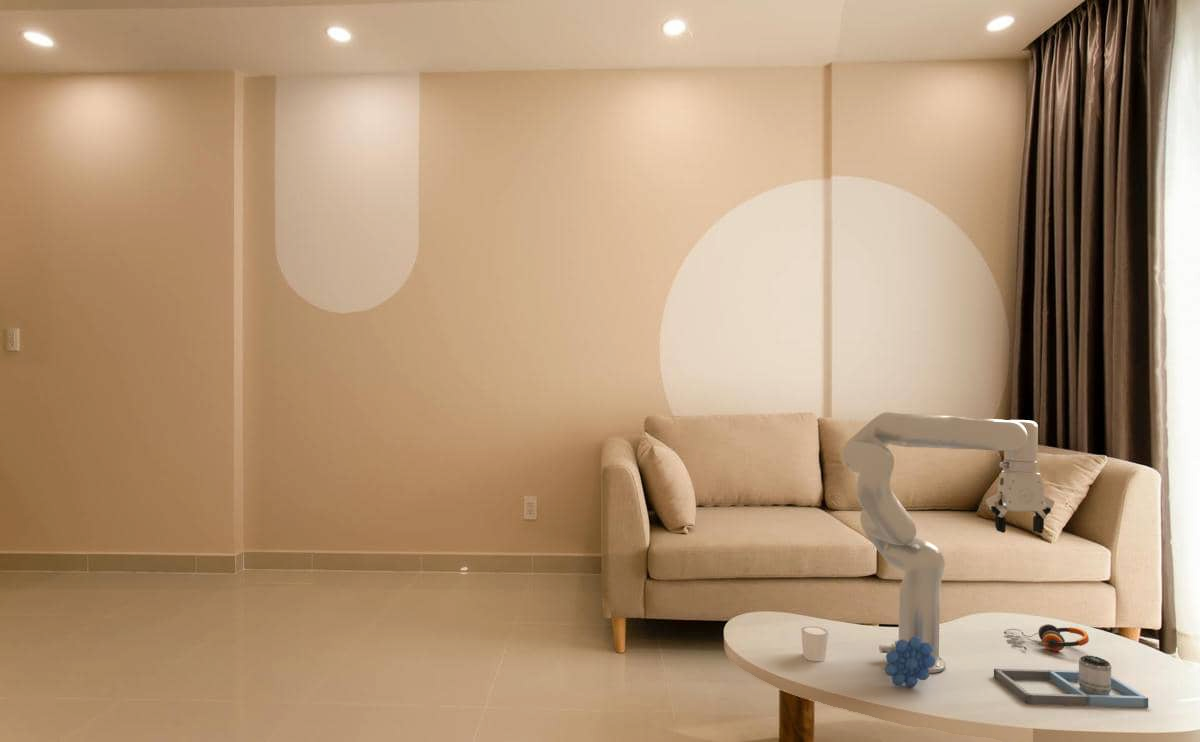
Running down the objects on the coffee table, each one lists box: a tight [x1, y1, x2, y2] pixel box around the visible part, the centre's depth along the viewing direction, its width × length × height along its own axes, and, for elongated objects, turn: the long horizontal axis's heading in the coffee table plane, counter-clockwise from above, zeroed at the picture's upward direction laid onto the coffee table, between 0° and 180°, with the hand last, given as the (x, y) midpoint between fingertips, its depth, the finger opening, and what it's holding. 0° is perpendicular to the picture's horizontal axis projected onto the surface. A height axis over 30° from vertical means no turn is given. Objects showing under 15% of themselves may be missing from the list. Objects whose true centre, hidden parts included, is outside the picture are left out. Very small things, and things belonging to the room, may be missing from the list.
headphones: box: [1003, 623, 1089, 652], centre depth 192 cm, size 17×5×20 cm
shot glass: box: [800, 625, 830, 662], centre depth 182 cm, size 7×7×7 cm
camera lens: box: [1078, 655, 1112, 695], centre depth 165 cm, size 6×6×8 cm
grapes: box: [884, 637, 935, 688], centre depth 167 cm, size 12×7×12 cm, turn 87°
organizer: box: [993, 668, 1149, 708], centre depth 165 cm, size 27×14×2 cm, turn 89°
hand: (1019, 531), depth 184 cm, fingers open, 9 cm apart
